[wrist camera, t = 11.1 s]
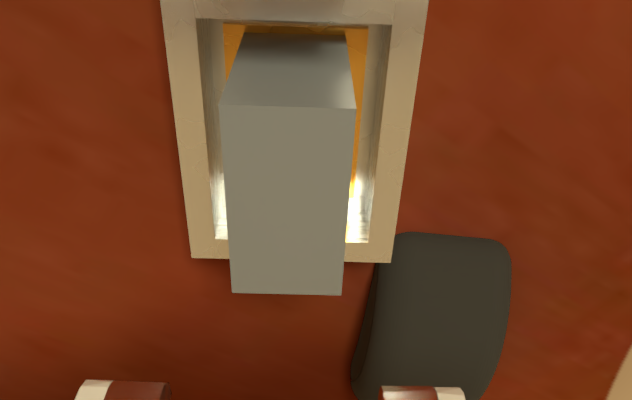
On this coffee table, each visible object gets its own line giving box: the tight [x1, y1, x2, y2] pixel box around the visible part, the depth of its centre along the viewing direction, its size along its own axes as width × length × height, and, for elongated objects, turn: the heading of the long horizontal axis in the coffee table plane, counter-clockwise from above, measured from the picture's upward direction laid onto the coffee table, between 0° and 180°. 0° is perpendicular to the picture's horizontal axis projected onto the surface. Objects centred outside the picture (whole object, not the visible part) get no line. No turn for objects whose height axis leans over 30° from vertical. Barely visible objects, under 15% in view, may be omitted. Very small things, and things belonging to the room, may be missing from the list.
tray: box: [160, 0, 429, 263], centre depth 16 cm, size 20×8×7 cm, turn 178°
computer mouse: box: [351, 232, 511, 400], centre depth 26 cm, size 6×11×4 cm, turn 173°
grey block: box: [218, 32, 357, 295], centre depth 18 cm, size 6×4×6 cm, turn 178°
